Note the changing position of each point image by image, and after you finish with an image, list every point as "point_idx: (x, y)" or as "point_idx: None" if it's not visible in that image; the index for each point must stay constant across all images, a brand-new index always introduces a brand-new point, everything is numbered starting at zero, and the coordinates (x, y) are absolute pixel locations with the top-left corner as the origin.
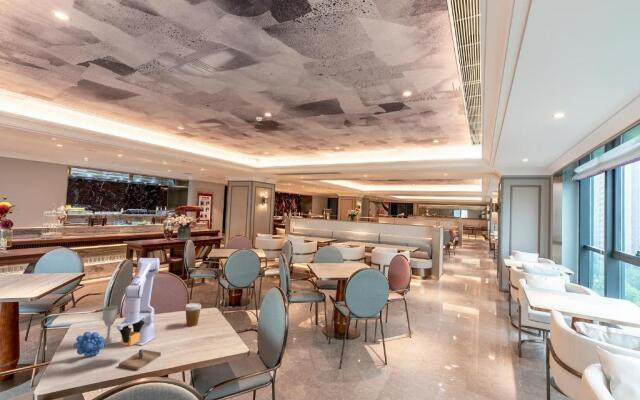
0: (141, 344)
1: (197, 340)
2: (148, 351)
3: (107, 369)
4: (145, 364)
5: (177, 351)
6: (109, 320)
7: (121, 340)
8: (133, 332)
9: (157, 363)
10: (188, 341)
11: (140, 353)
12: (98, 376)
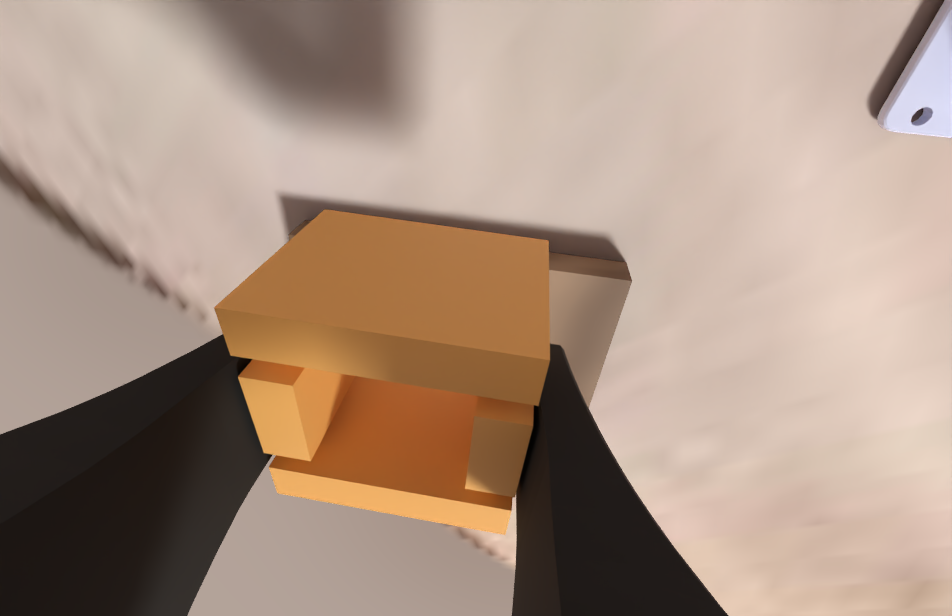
0: (887, 114)
1: (870, 542)
2: (586, 351)
3: (227, 142)
4: None
5: (654, 485)
6: None
7: (286, 246)
8: (485, 445)
9: None
10: (865, 502)
11: None
12: (117, 157)
